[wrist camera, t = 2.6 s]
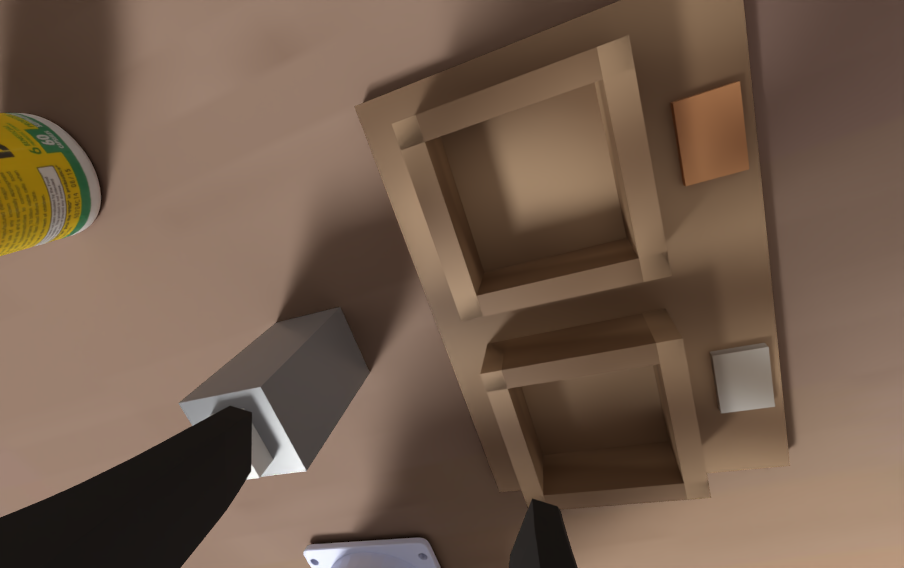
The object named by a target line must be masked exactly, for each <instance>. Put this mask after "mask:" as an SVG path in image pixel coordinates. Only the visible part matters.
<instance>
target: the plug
mask: <svg viewBox="0 0 904 568" xmlns="http://www.w3.org/2000/svg"><path fill="white" fill-rule="evenodd" d="M369 373H370V372H369V370H368V368H367V366H366V363H365V361H364V359H363V357H362V354H361V352H360V350H359V348H358V346H357V343H356V341H355V339H354V337H353V334H352V332H351V330H350V328H349V325H348V323H347V321H346V319H345V316H344V314H343V312H342V310H341V308H340V307H338V308H333V309H329V310H325V311H321V312H317V313H313V314H309V315H305V316H301V317H297V318H293V319H289V320H285V321H281V322H277V323H275V324H274V325H273V326H271V327H270V328H269V329H268V330H267V331H265V332H264V333H263V334H262V335H261V336H259V337H258V338H257V339H256V340H254V341H253V342H252V343H251V344H250V345H248V346H247V347H246V348H245V349H244V350H242V351H241V352H240V353H239V354H237V355H236V356H235V357H234V358H233V359H231V360H230V361H229V362H228V363H227V364H225V365H224V366H223V367H222V368H220V369H219V370H218V371H217V372H216V373H214V374H213V375H212V376H211V377H210V378H208V379H207V380H206V381H205V382H204V383H202V384H201V385H200V386H199V387H197V388H196V389H195V390H194V391H193V392H191V393H190V394H189V395H188V396H187V397H185V398H184V399H183V400H182V401H180V402H179V405H180V407H181V408H182V410H183V411H184V413H185V415H186V416H187V418H188V419H189V421H190V423H191V424H192V426H193V425H195V424H197V423H199V422H200V421H202V420H204V419H206V418H208V417H210V416H211V415H213V414H215V413H217V412H219V411H221V410H223V409H225V408H226V407H228V406H233V407H237V408H240V409H243V410H246V411H250V412H252V464H251V472H250V474H249V476H248V477H247V479H255V478H260V477H263V476H271V475H279V474H287V473H295V472H303V471H307V470H308V468H309V466H310V465H311V463H312V462H313V460H314V459H315V457H316V456H317V454H318V452H319V451H320V449H321V448H322V446H323V445H324V443H325V442H326V440H327V438H328V437H329V435H330V434H331V432H332V431H333V429H334V428H335V426H336V424H337V423H338V421H339V420H340V418H341V417H342V415H343V414H344V412H345V410H346V409H347V407H348V406H349V404H350V403H351V401H352V400H353V398H354V396H355V395H356V393H357V392H358V390H359V389H360V387H361V386H362V384H363V382H364V381H365V379H366V378H367V376H368V375H369Z"/></svg>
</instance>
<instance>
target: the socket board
mask: <svg viewBox="0 0 904 568" xmlns="http://www.w3.org/2000/svg"><path fill="white" fill-rule="evenodd" d="M354 107H355V109H356V112H357V115H358V117H359V120H360V123H361V125H362V128H363V131H364V133H365V136H366V139H367V141H368V144H369V147H370V149H371V152H372V155H373V157H374V160H375V162H376V165H377V168H378V170H379V173H380V176H381V178H382V181H383V184H384V186H385V189H386V192H387V194H388V197H389V200H390V202H391V205H392V208H393V210H394V213H395V216H396V218H397V221H398V224H399V226H400V229H401V232H402V234H403V237H404V240H405V242H406V245H407V248H408V250H409V253H410V256H411V258H412V261H413V264H414V266H415V269H416V272H417V274H418V277H419V280H420V282H421V285H422V288H423V290H424V293H425V295H426V298H427V301H428V303H429V306H430V309H431V311H432V314H433V317H434V319H435V322H436V325H437V327H438V330H439V333H440V335H441V338H442V341H443V343H444V346H445V349H446V351H447V354H448V357H449V359H450V362H451V365H452V367H453V370H454V373H455V375H456V378H457V381H458V383H459V386H460V389H461V391H462V394H463V397H464V399H465V402H466V405H467V407H468V410H469V413H470V415H471V418H472V421H473V423H474V426H475V428H476V431H477V434H478V436H479V439H480V442H481V444H482V447H483V450H484V452H485V455H486V458H487V460H488V463H489V466H490V468H491V471H492V474H493V476H494V479H495V482H496V484H497V487H498V490H499V492H509V491H520V490H522V493H523V496H524V499H525V502H526V505H527V507H528V508H529V505H530V503H531V500H532V499H536V500H539V501H542V502H545V503H549V504H552V505H555V506H558V508H559V509H572V508H585V507H598V506H611V505H625V504H638V503H651V502H664V501H677V500H690V499H703V498H711V494H710V489H709V483H708V477H707V473H717V472H727V471H738V470H749V469H760V468H771V467H782V466H790V461H789V451H788V441H787V431H786V421H785V411H784V401H783V391H782V381H781V371H780V361H779V351H778V341H777V331H776V321H775V311H774V301H773V291H772V281H771V271H770V261H769V251H768V241H767V231H766V221H765V211H764V201H763V191H762V181H761V171H760V161H759V151H758V141H757V131H756V121H755V111H754V101H753V91H752V81H751V71H750V61H749V51H748V41H747V31H746V21H745V11H744V1H743V0H620V1H617V2H615V3H612V4H610V5H607V6H605V7H602V8H600V9H597V10H595V11H592V12H590V13H587V14H585V15H582V16H580V17H577V18H575V19H572V20H570V21H567V22H565V23H562V24H560V25H557V26H555V27H552V28H550V29H547V30H545V31H542V32H540V33H537V34H535V35H532V36H530V37H527V38H525V39H522V40H520V41H517V42H515V43H512V44H510V45H507V46H505V47H502V48H500V49H497V50H495V51H492V52H490V53H487V54H485V55H482V56H479V57H477V58H474V59H472V60H469V61H467V62H464V63H462V64H459V65H457V66H454V67H452V68H449V69H447V70H444V71H442V72H439V73H437V74H434V75H432V76H429V77H427V78H424V79H422V80H419V81H417V82H414V83H412V84H409V85H407V86H404V87H402V88H399V89H397V90H394V91H392V92H389V93H387V94H384V95H382V96H379V97H377V98H374V99H372V100H369V101H367V102H364V103H362V104H359V105H357V106H354Z"/></svg>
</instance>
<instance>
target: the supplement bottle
mask: <svg viewBox="0 0 904 568" xmlns="http://www.w3.org/2000/svg"><path fill="white" fill-rule="evenodd" d="M100 204H101V192H100V186H99V181H98V178H97V175H96V172H95V169H94V167H93V165H92V163H91V161H90V159H89V158H88V156H87V155H86V153H85V152H84V150H83V149H82V148H81V147H80V145H79V144H78V143H77V142H76V141H75V140H74V139H73V138H72V137H71V136H70V135H69V134H68V133H67V132H65V131H64V130H63V129H62V128H61V127H59V126H58V125H56V124H54V123H53V122H51V121H49V120H47V119H45V118H42V117H39V116H36V115H32V114H26V113H0V256H2V255H6V254H9V253H13V252H16V251H19V250H23V249H26V248H30V247H34V246H37V245H41V244H44V243H47V242H51V241H54V240H58V239H61V238H65V237H68V236H71V235H74V234H77V233H79V232H81V231H83V230H85V229H86V228H87V227H89V226H90V225H91V224H92V223H93V221H94V220H95V219H96V217H97V215H98V212H99V209H100Z"/></svg>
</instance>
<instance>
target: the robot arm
mask: <svg viewBox="0 0 904 568" xmlns="http://www.w3.org/2000/svg"><path fill="white" fill-rule="evenodd" d="M251 464H252V412H250V411H246V410H243V409H240V408H237V407H233V406H228V407H226V408H225V409H223V410H221V411H219V412H217V413H215V414H213V415H211V416H210V417H208V418H206V419H204V420H202V421H200V422H199V423H197V424H195V425H193V426H191V427H189V428H188V429H186V430H184V431H182V432H180V433H179V434H177V435H175V436H173V437H171V438H169V439H167V440H166V441H164V442H162V443H160V444H158V445H156V446H154V447H152V448H150V449H149V450H147V451H145V452H143V453H141V454H139V455H137V456H135V457H133V458H131V459H130V460H128V461H126V462H123V463H121V464H119V465H117V466H115V467H113V468H111V469H109V470H107V471H105V472H103V473H101V474H99V475H97V476H95V477H93V478H91V479H89V480H87V481H85V482H83V483H80V484H78V485H76V486H74V487H72V488H69V489H67V490H65V491H63V492H61V493H58V494H56V495H54V496H51V497H49V498H47V499H44V500H42V501H40V502H37V503H35V504H32V505H30V506H28V507H25V508H23V509H20V510H18V511H16V512H13V513H11V514H8V515H6V516H3V517H1V518H0V568H181V566H182V565H183V564H184V563H185V561H186V560H187V559H188V558H189V556H190V555H191V554H192V553H193V551H194V550H195V549H196V548H197V547H198V545H199V544H200V543H201V542H202V540H203V539H204V538H205V537H206V535H207V534H208V533H209V532H210V530H211V529H212V528H213V527H214V525H215V524H216V523H217V522H218V520H219V519H220V518H221V516H222V515H223V514H224V513H225V511H226V510H227V508H228V507H229V505H230V504H231V502H232V501H233V499H234V498H235V496H236V495H237V493H238V492H239V490H240V489H241V487H242V485H243V484H244V482H245V480H246V479H247V477H248V476H249V474H250V472H251ZM304 556H305V558H306V560H307V561H308V563H309V565H310V566H311V568H441V567H440V565H439V563H438V560H437V558H436V556H435V554H434V552H433V550H432V548H431V545H430V543H429V542H428V541H427V540H426V539H424V538H419V537H418V538H402V539H387V540H371V541H355V542H340V543H324V544H310V545H308V546H307V547H306V548H305V550H304ZM509 568H577V564H576V561H575V558H574V555H573V552H572V549H571V546H570V542H569V539H568V536H567V532H566V529H565V525H564V522H563V518H562V514H561V511H560V509H559V508H558V506H555V505H552V504H549V503H545V502H542V501H539V500H536V499H532V500H531V503H530V505H529V508H528V510H527V513H526V515H525V518H524V521H523V523H522V526H521V528H520V531H519V534H518V536H517V539H516V541H515V544H514V546H513V549H512V552H511V554H510V562H509Z"/></svg>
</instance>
